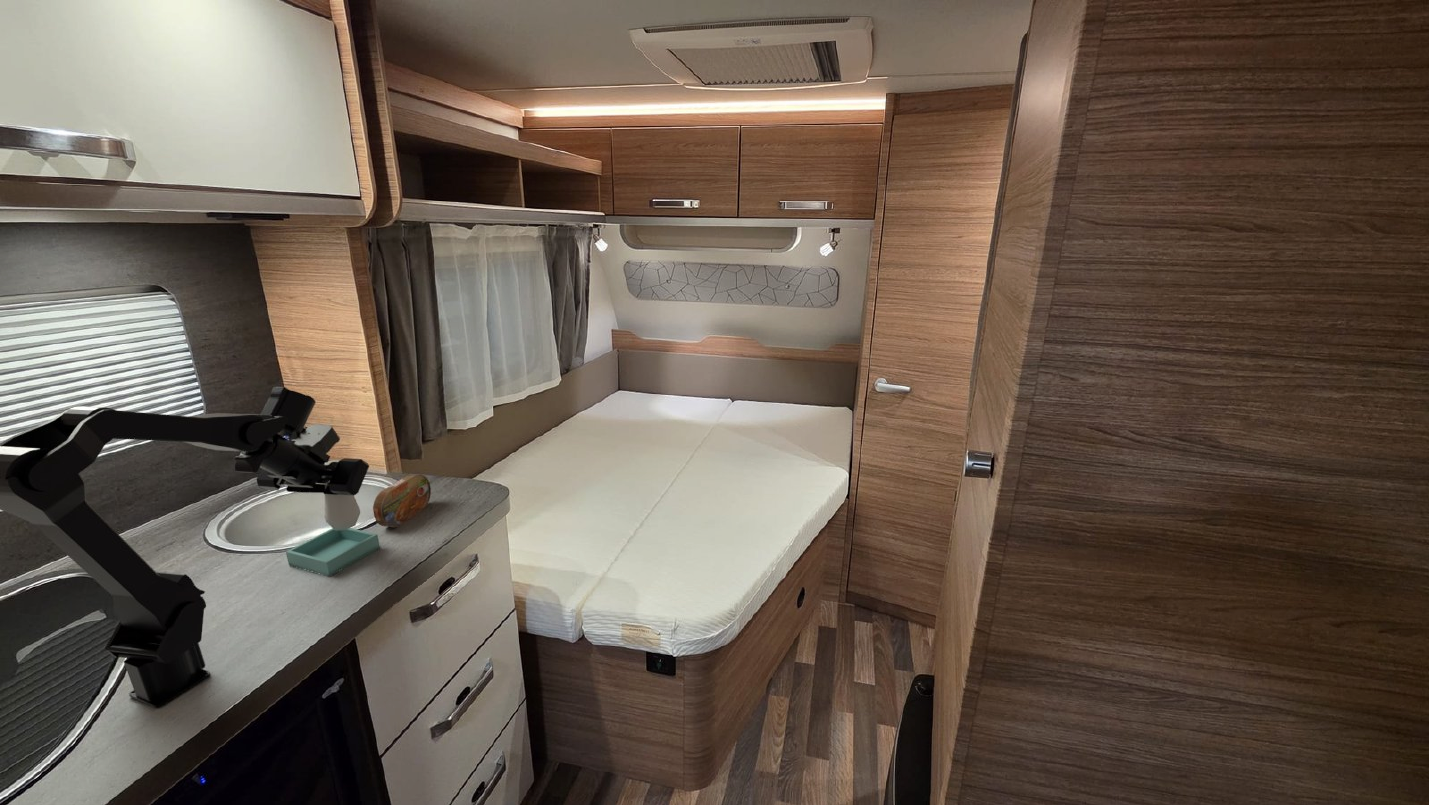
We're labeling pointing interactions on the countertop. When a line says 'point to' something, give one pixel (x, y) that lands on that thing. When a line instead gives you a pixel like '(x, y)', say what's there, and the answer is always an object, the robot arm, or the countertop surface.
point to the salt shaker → (341, 509)
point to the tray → (333, 550)
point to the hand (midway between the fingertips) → (343, 490)
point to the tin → (402, 500)
